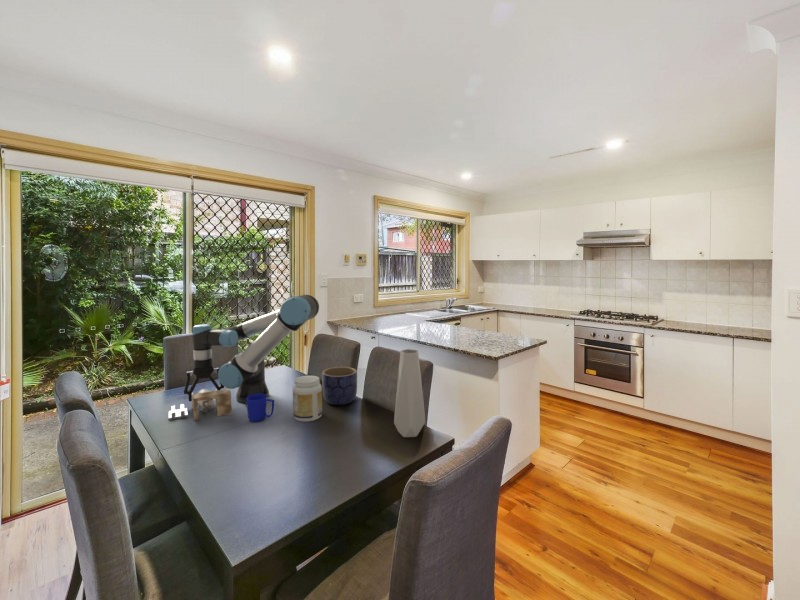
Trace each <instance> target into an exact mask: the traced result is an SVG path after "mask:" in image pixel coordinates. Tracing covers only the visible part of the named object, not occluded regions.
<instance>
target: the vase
mask: <svg viewBox="0 0 800 600" xmlns="http://www.w3.org/2000/svg"><path fill="white" fill-rule="evenodd" d="M420 366H421V364H420V355H419V350H417V349H410V348H408V349H401V350H400V353H399V363H398V372H397V373H398V374H397V382H396V383H397V384H396V393H395V394H396V395H395V406H394V415H393V416H394V419H393V424H394V425H395V428H396V429H397V432H398V433H399V434H400V435H401V436H402V438H416V437H418V435H419V434H420V432H421V431H422V428H423V427H424V425H425V423H426V412H425V404H424V393H423V384H422V375H421V367H420Z"/></svg>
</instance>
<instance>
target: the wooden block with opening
mask: <svg viewBox="0 0 800 600" xmlns="http://www.w3.org/2000/svg"><path fill="white" fill-rule="evenodd" d="M209 399H213V400H215V405H216V406H215V407H216V410H215V411H216V413H217V416H218V417H219V416H225V415H231V414H232V413H233V412H232V392H231V390H230V388H225V389H224V388H223V389H220V390H217V391H215V390H212V391H211V390H210V392H204V393H198V392H197V393H193V409H192V410H193V411H192V413H193V419H194V421H198V420H199V404H198V401H203V400H209Z"/></svg>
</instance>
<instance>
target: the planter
mask: <svg viewBox="0 0 800 600" xmlns="http://www.w3.org/2000/svg"><path fill="white" fill-rule="evenodd" d="M321 376H322V377H321V378H322V381H321V383H322V384H321V386H322V397H323V398H324V400H325V401H326V402H327V403H328V404H330V405H333V406H344V405H348V404H350V403H352V402H353V401H354V400H355V398H356V396H357V391H358V370H357V369H356V368H353V367H349V366H348V367H347V366H336V367H335V366H334V367H329V368H326V369H324V370H323V371H322V374H321Z"/></svg>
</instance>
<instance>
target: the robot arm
mask: <svg viewBox="0 0 800 600" xmlns="http://www.w3.org/2000/svg"><path fill="white" fill-rule="evenodd" d="M319 311H320V304H319V301H318V300H317V298H315V297H314V296H313V295H310V294H302V295H298V296H291V297H289V298H287V299H286V300H285V301H283V303H281V306H280V308H278V309H275V310H274V311H271V312H268V313H265V314H263V315H261V316H257V317H255V318H253V319H249V320H247V321H245V322H241V323H239V324H237V325H233V326H230V327H227V328H224V329H212V326H211V325H210V324H207V323H203V324H196V325H194V326H192V335H191V336H192V343H193V344H192V346H193V347H192V349H193V354H192V355H193V369H192V370H191V371H186V379H185V384H184V389H183V394H184V395H188V401H189V402H191V409H192V410H193V394H194V392H193V391H194V390H195V388H196V386H197V383H198V381H199V380H201V379H209V380H210V381H211V383H212V384H213V385H214V387H215V388H216V389H214V391H217V390H223V389H224V388H225V389H229V390H230V389H231V390H232V389H236V388H237V392H236V394H235V399H236V402H239V403H245V404H247V403H246V397H247V396H249V395H253V394H265V395H267V399H269V397H270V392H269V391H270V390H269V388H268V385H267V383H266V375H265V374H266V372H265V370H266V369H265V358H266V357H267V356H268V355H269V354H270V353H271V352H272V351H273V350H274V349H275V348H277V347H278V346H279V344H280V343H281V342H282V341H284V339H285V338H286V337H287V336H289V335H290V334H291V332H298V330H299V329H300V328H301V327H302V326H303V325H304V324H305V323H306V322H308V321H309V320H312V319H314V318H315V317H316V316H317V315H318V314H319ZM258 334H260V335H258ZM256 335H258V336H257V338H256V339H254V341H252V343H251V344H250V345H249V346H248V347H247V348H246V349H245V350H244V351H240V352H238V353H236V354H235V355H234V356H233V357H232V358H231V359H230V360H229V361H228V362H226V363H224V364H222V365H221V366H220V367H216V368H215V367H214V366H213V349H212V348H213V347H224V348H228V347H231V348H232V347H234V346H236V344H237V343H238V342H239V341H242V340H245V339H248V338H250V337H253V336H256ZM213 373H215V374H216V375H217V378H218V381H219V384H218V383H217V381H216V379H214V377H213V375H212V374H213ZM193 375H195V377H194V380H193V382H192V384H191V386H190V381H191V377H192V376H193ZM189 387H190V388H189Z"/></svg>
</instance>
